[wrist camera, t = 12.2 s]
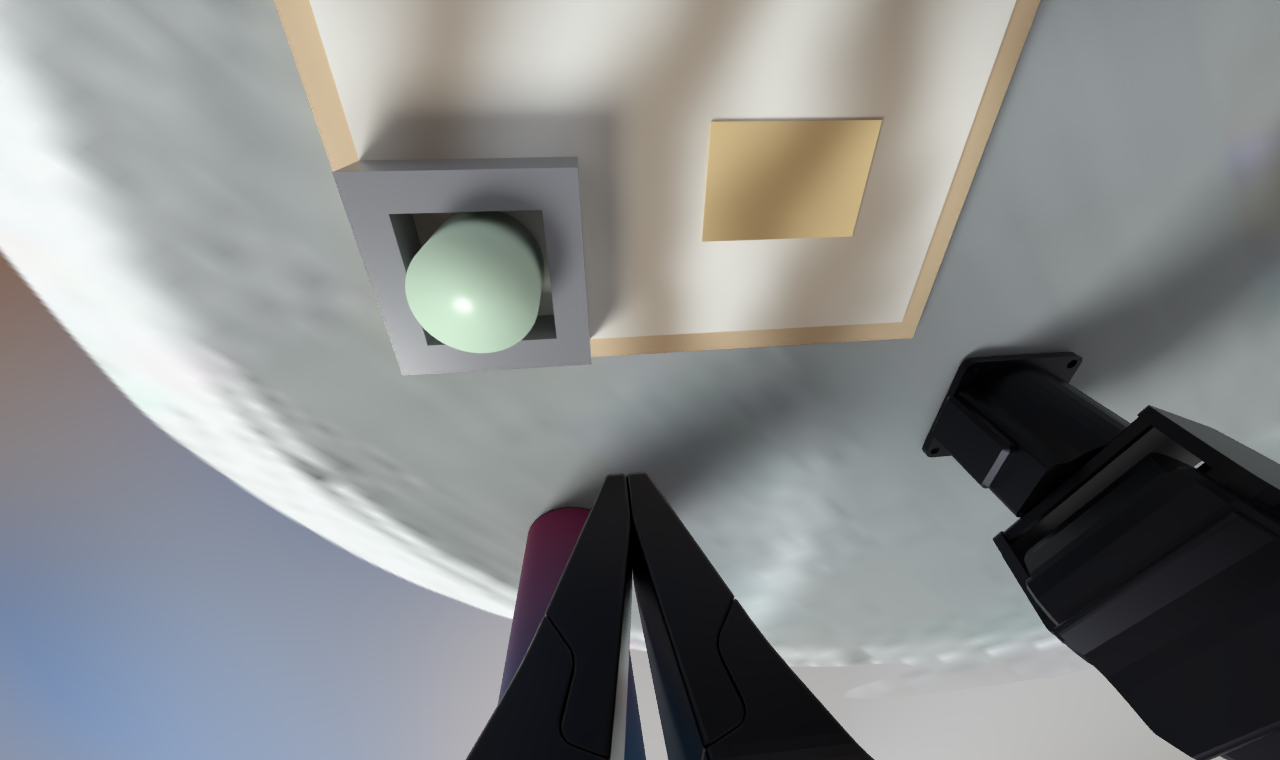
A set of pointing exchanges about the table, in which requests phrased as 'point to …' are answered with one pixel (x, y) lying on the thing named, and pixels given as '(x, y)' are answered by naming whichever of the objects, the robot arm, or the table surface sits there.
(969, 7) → the beige flat board
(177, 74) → the table surface
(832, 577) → the table surface
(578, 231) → the button housing
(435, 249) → the button
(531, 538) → the cup
